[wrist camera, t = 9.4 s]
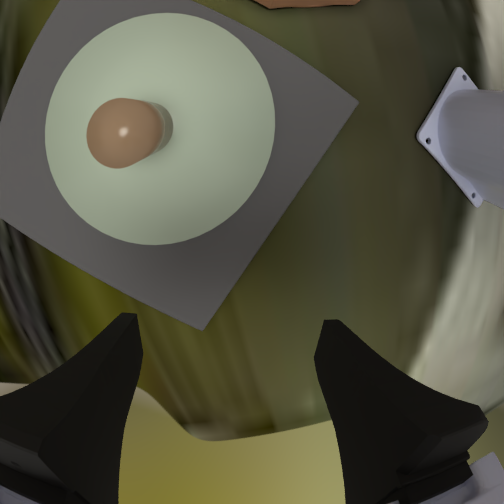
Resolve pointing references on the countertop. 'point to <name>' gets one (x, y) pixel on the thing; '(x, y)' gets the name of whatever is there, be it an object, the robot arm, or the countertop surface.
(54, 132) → the lid
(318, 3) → the bowl
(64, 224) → the rubber mat
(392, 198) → the countertop surface
